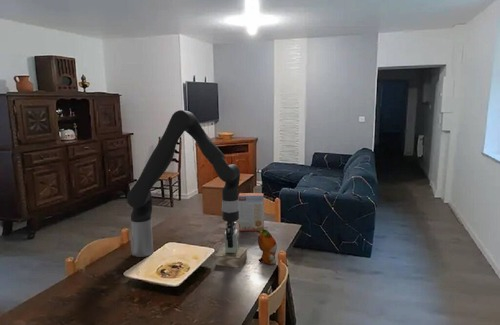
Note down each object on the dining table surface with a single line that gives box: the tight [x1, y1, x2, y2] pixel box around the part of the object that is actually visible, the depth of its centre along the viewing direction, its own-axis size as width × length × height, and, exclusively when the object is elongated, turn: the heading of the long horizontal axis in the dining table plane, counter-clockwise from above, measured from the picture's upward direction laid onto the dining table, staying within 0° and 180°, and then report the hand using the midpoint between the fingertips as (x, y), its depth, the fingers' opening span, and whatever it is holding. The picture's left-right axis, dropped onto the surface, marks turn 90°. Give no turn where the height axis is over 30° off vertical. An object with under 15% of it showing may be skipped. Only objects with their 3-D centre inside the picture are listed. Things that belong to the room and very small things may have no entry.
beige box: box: [214, 244, 248, 269], centre depth 167 cm, size 11×11×5 cm
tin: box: [224, 228, 239, 253], centre depth 166 cm, size 5×5×9 cm
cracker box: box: [238, 192, 265, 232], centre depth 205 cm, size 14×6×21 cm, turn 84°
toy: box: [257, 228, 278, 265], centre depth 166 cm, size 11×9×15 cm
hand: (231, 244), depth 166 cm, fingers open, 5 cm apart
